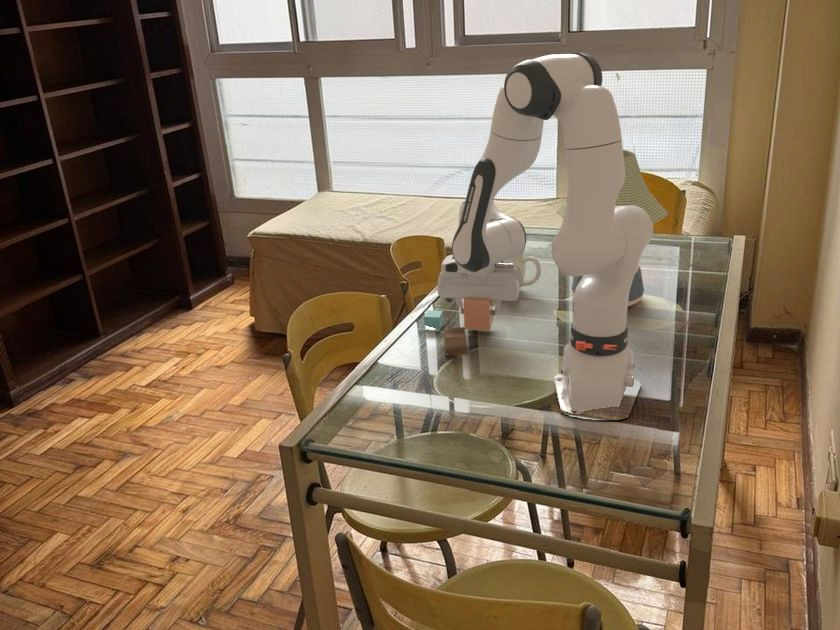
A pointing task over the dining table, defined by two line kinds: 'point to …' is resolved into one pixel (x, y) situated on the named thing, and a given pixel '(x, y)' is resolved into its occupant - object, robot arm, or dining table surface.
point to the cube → (434, 319)
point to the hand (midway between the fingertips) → (478, 314)
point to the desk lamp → (635, 195)
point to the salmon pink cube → (478, 313)
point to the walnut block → (455, 341)
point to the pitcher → (524, 268)
